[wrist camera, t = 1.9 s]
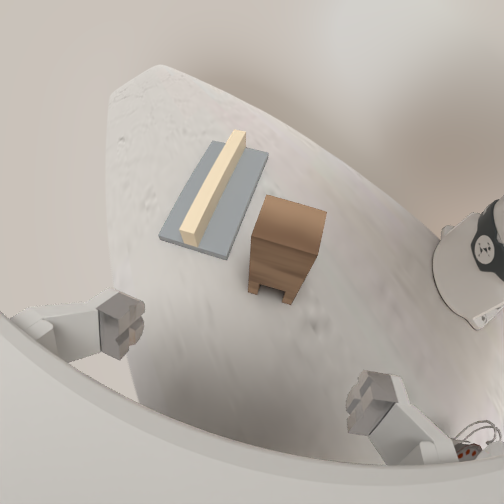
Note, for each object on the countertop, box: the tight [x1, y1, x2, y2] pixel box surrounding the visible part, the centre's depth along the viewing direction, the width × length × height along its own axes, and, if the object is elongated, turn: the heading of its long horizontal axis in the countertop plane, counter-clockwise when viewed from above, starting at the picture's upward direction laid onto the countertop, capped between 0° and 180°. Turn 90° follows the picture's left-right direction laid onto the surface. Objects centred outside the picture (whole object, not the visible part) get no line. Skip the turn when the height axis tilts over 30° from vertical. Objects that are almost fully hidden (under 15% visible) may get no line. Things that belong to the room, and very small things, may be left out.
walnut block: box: [248, 195, 327, 305], centre depth 30 cm, size 4×6×14 cm
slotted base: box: [158, 130, 268, 260], centre depth 40 cm, size 20×10×5 cm, turn 163°
